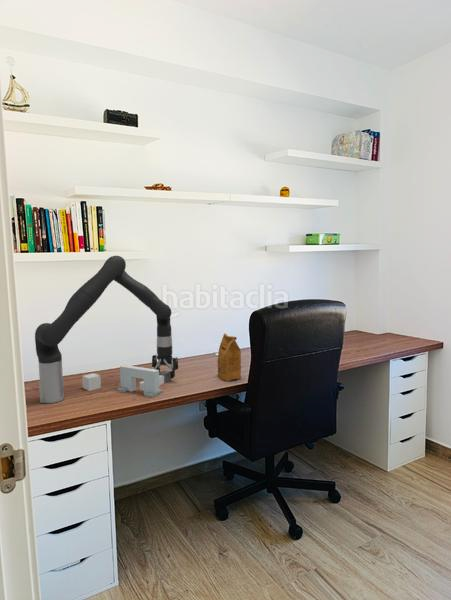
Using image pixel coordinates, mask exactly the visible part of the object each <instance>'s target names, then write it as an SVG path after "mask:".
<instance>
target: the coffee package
mask: <svg viewBox="0 0 451 600" xmlns="http://www.w3.org/2000/svg"><path fill="white" fill-rule="evenodd" d="M236 340H237V336H229V335H228V334H227V333H223V336H222V339H221V341H220V343H219V348H218V355H217V377H218V378H220V380H223V381H225V380H226V381H225V382H230V381H232V380H239V379H241V378H242V377H241V376H242V373H241V372H242V364H241V362H242V351H241V349H240V346H239V345H238V342H237V341H236Z"/></svg>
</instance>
